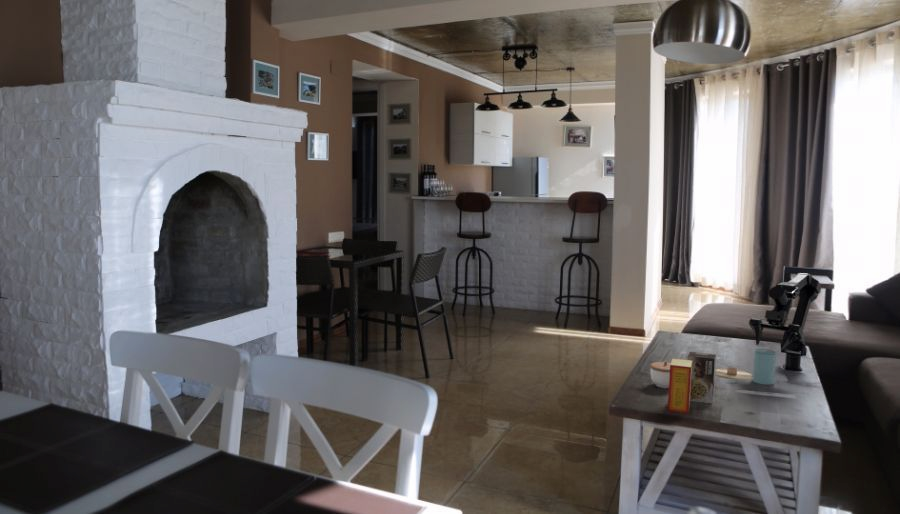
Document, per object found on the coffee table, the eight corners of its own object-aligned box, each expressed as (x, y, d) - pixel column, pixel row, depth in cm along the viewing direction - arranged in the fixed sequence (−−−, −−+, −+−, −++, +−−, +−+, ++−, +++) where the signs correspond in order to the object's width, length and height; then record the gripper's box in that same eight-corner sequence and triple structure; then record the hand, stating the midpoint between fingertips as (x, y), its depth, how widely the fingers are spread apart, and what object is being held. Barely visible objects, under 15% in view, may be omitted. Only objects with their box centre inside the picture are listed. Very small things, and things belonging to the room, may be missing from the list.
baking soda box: (669, 402, 240) (672, 357, 239) (689, 405, 238) (692, 359, 236) (667, 410, 232) (670, 363, 230) (688, 413, 229) (691, 366, 227)
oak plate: (710, 370, 283) (710, 367, 283) (750, 373, 278) (750, 370, 278) (712, 380, 268) (712, 377, 268) (754, 384, 264) (754, 381, 264)
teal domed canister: (751, 381, 268) (753, 348, 267) (772, 383, 266) (774, 349, 264) (753, 386, 261) (755, 352, 260) (774, 388, 259) (777, 354, 258)
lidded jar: (681, 391, 254) (682, 366, 253) (650, 388, 256) (651, 364, 255) (677, 382, 264) (679, 358, 263) (648, 380, 266) (649, 356, 265)
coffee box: (714, 399, 245) (717, 354, 243) (712, 404, 239) (715, 358, 237) (687, 395, 249) (689, 351, 247) (684, 400, 243) (687, 355, 241)
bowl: (726, 372, 275) (727, 365, 275) (736, 373, 274) (736, 366, 274) (727, 374, 272) (727, 368, 272) (737, 375, 271) (737, 369, 271)
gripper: (750, 298, 273) (738, 332, 268) (801, 304, 260) (789, 341, 255) (758, 312, 280) (746, 346, 275) (808, 319, 267) (796, 355, 262)
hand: (769, 347), depth 267 cm, fingers open, 9 cm apart
